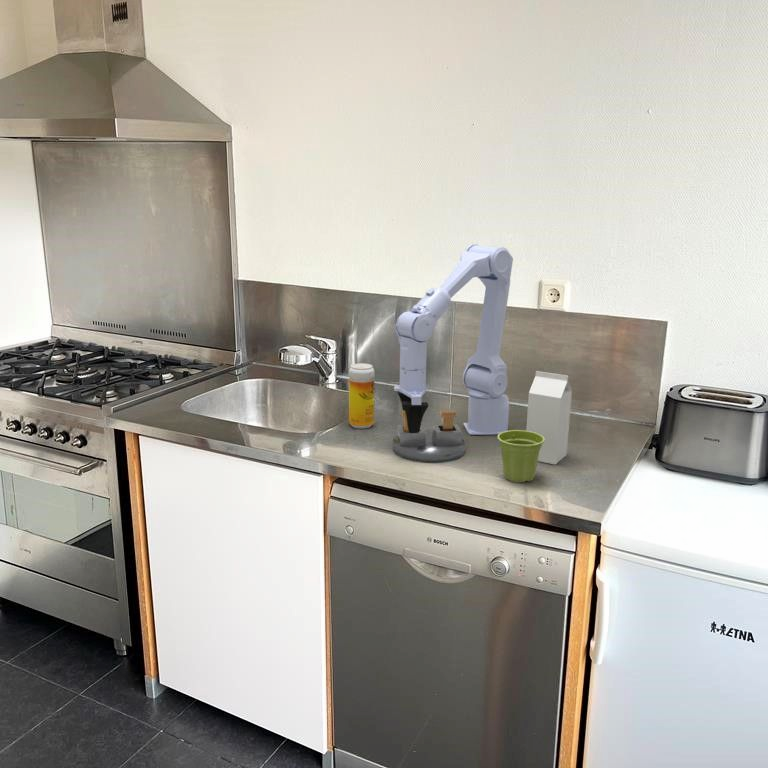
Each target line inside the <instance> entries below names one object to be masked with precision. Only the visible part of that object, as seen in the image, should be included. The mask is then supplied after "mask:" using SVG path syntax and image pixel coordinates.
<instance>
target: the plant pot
mask: <svg viewBox="0 0 768 768" xmlns="http://www.w3.org/2000/svg"><path fill="white" fill-rule="evenodd" d="M497 440H498V441H499V446H500V448H501V450H500V451H501V458H502V468H503V469H502V471H503V477H504V478H506V479H507V480H508V481H510V482H513V483H523V482H526V481H527V482H532V481H533V480H534V479H535V475H536V470H537V466H538V465H537V464H538V461H537V460H538V456H539V451H540V449H541V446H542V443H544V441H545V438H544V437H543V436H542V435H540V434H538V433H535V432H531V431H526V430H525V429H524V430H521V429H512V430H508V431H504V432H501V433H500V434H497Z"/></svg>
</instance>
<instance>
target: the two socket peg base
mask: <svg viewBox="0 0 768 768" xmlns="http://www.w3.org/2000/svg"><path fill="white" fill-rule="evenodd" d="M456 413H457V412H456V410H455V409H439V416H440V417H441V423H439V424H432V429H425V428H424V425H423V424H421V426H420V430H419V433H409V432H404V424H398V425H397V435H396V436H394V438H393V440H392V451H393V452H394V454H395V455H397V456H398V457H399V458H402V459H404V460H408V461H411V462H418V463H427V464H429V463H430V464H435V463H445V462H446V463H447V462H451V461H452V462H453V461H455V460H458V459H461V457H462V456H464V455H465V452H466V451H465V449H466V447H465V446H466V441H465V440H464V438H463V437H462V436H463V432H462V430H461V428H460V426H459V424H457V423H454V418H455V417H457V416H456V415H457V414H456Z"/></svg>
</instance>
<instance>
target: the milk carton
mask: <svg viewBox="0 0 768 768" xmlns="http://www.w3.org/2000/svg"><path fill="white" fill-rule="evenodd" d="M572 395H573V389H572V386H571V385H570V382H569V375H567V374H559V373H554V372H553V373H552V372H545V371H540V370H539V371H538V370H535V376H534V378H533V382H532V384H531V387H530V388H529V392H528V402H527V414H526V415H527V417H526V430H525V431H531V432H535V433H538V434H540V435H542V436H543V437H544V438H545V441H544V443H542V446H541V449H540V451H539V456H538V460H537V462H540V463H545V464H551V465H555V466H556V465H557V464H558V463H559V462H560V461H562V460H563V459H564V458H565V457H566V456H567V454H568V443H569V431H570V430H569V429H570V418H571V406H572Z"/></svg>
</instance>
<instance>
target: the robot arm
mask: <svg viewBox="0 0 768 768" xmlns="http://www.w3.org/2000/svg"><path fill="white" fill-rule="evenodd" d="M513 262H514V258H513V256H512V254H511V253H510V252H509V250H508V249H507V248H506V247H504V246H500V247H499V246H498V247H497V246H488V245H479V244H474V243H473V244H470V245H468V247H467V248H465V251H463V252H462V253H461V254H460V260H459V263H458V264H457V265H456V266H455V268H454V269H452V271H451V272H450V273H449V275H448V276H447V277H446V279H445V280H444V281H443V282H442V284H441V285H440V286H439V287H432V288H429V289H427V290H426V291H425V295H423V296H422V297H421V299H420V300H419V301H418V302H417V303H416V304H415V305H413V307H412V308H411V309H410V310H408V311H404V312H403V313H402V314H400V315H399V316H398V318H397V320H396V323H395V324H394V331H395V333H396V335H397V337H398V343H399V347H400V349H399V385H394V387H393V389H394V390H393V391H395V392H397V395H398V396H399V399H400V403H401V407H402V410H405V413H406V418H407V426H408V431H409V433H419V430H420V426H421V425H422V421H423V417H424V415H425V413H426V410H427V409H428V407H429V403H428V402H427V401H426V402H425V401H424V402H423V401H422V397H423V396H424V394H425V393H426V392H427V386H426V385H427V384H426V382H427V354H428V353H427V351H428V350H427V349H428V339H430V338H431V337H432V335H433V332H434V329H435V326H436V325H437V322H438V320H440V318H441V317H442V316H443V315H444V314H445V313H446V312H447V311H448V310H449V308H450V307H451V305H452V298H453V297H454V296H455V295H456V294H457V293H458V292H459V291H461V289H463V287H465V286H466V285H467V284H468V283H469V282H471V280H472V279H473V278H478V279H479V280H480V281H481V283H482V284H483V286H484V287H485V289H484V290H485V291H484V297H483V304H482V311H481V318H480V325H479V331H478V333H479V334H478V339H477V347H476V351H475V353H474V355H472V356H470V357H469V358H468V359H467V363H466V366H465V369H464V371H463V373H462V378H461V379H462V384H463V386H464V388H466V393H467V394H468V406H467V407H468V409H467V413H468V414H467V422H463V424H462V425H463V426H464V429H465V430H466V432H467V433H468V435H470V436H471V435H472V436H473V435H474V436H475V435H477V436H478V435H479V436H480V435H481V436H482V435H483V436H484V435H487V436H488V435H489V436H491V435H498V434H500V433H501V432H504V431H509V430H508V429H509V415H510V402H509V397H508V395H507V394H506V393H505V394H504V392H505V391H506V389H507V387H508V383H509V382H508V375H507V374H508V373H507V372H508V371H507V369H508V366H507V364H506V363H505V361H504V360H503V359H502V358H501V355H500V354H501V349H502V348H501V347H502V339H503V332H504V327H505V326H504V325H505V320H506V313H507V307H508V301H509V294H510V287H511V275H512V268H513Z"/></svg>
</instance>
